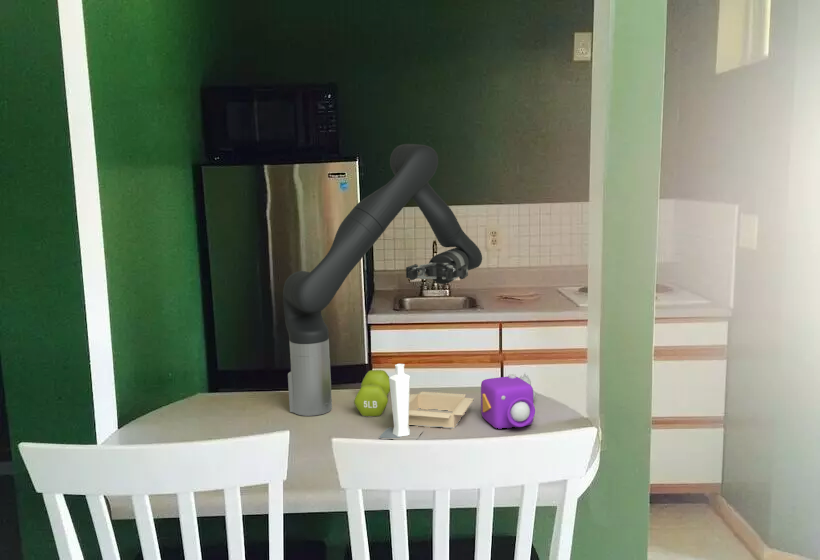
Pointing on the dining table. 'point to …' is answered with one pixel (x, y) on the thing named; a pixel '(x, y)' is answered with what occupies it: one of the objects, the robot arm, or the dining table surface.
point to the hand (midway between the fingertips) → (429, 275)
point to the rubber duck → (526, 379)
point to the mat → (389, 433)
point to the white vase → (400, 400)
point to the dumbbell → (373, 393)
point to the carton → (440, 402)
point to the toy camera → (507, 402)
